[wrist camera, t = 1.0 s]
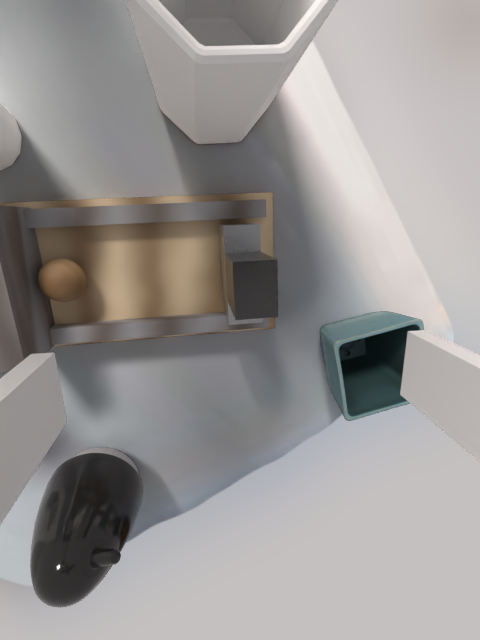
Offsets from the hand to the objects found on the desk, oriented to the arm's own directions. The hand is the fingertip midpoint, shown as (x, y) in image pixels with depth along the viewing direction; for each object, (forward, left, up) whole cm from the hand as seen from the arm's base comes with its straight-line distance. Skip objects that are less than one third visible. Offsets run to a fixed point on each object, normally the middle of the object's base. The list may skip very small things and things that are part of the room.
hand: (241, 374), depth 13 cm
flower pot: (+9, +15, -26) cm, 31 cm away
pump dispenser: (+23, -15, -26) cm, 38 cm away
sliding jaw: (-1, +2, -23) cm, 23 cm away
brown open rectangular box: (-1, -7, -25) cm, 26 cm away
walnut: (-1, -14, -21) cm, 25 cm away
